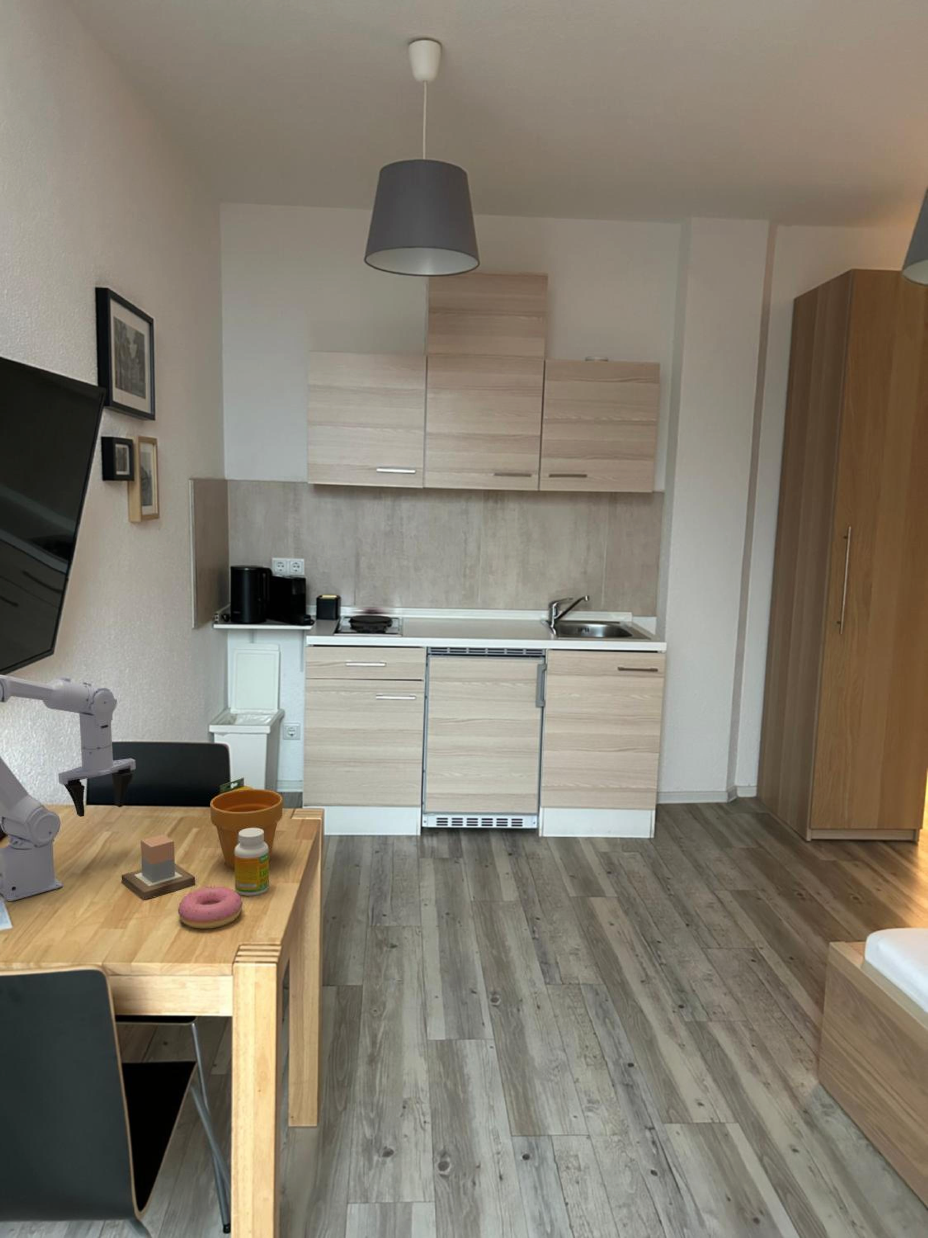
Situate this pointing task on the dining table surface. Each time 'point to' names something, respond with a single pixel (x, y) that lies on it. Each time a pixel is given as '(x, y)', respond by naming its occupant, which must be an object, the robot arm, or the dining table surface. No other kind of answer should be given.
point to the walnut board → (157, 883)
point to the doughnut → (210, 907)
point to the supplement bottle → (251, 863)
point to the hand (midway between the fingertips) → (100, 810)
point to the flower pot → (245, 817)
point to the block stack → (157, 858)
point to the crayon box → (238, 787)
